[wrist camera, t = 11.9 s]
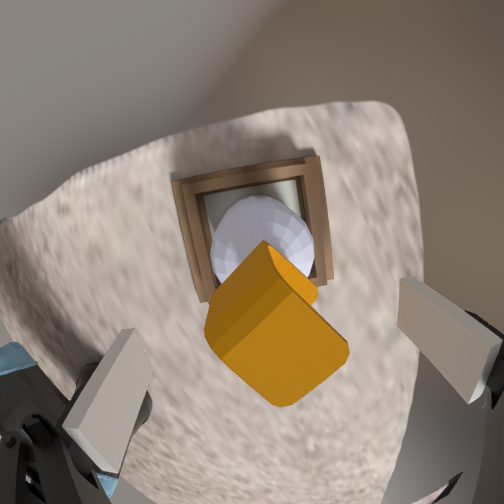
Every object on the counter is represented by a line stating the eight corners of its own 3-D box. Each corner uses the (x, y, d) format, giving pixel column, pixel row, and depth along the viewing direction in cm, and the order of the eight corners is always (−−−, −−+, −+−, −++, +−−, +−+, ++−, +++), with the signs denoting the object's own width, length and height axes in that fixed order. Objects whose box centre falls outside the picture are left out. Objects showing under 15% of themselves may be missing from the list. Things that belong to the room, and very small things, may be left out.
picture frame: (201, 299, 37) (196, 313, 33) (173, 181, 32) (164, 182, 28) (331, 276, 36) (341, 287, 33) (317, 156, 32) (326, 154, 28)
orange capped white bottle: (259, 281, 35) (287, 454, 11) (204, 235, 33) (127, 369, 9) (309, 230, 33) (431, 343, 10) (254, 178, 31) (290, 187, 8)
